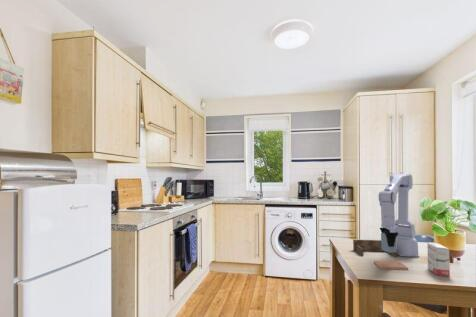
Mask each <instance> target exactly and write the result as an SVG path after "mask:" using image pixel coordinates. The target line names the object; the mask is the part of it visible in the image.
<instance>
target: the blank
mask: <svg viewBox="0 0 476 317" xmlns="http://www.w3.org/2000/svg"><path fill="white" fill-rule="evenodd" d="M380 240H381V249H382V250H384V251H386V252H387V253H389V254H390V253H392V252H397V247H396V239H395V243H394V247H389V246H388V243H387V238H386V235H385V233H382V232H380ZM386 252H385V253H386Z"/></svg>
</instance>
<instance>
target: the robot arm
mask: <svg viewBox="0 0 476 317" xmlns="http://www.w3.org/2000/svg"><path fill="white" fill-rule="evenodd" d="M413 184H414V183H413V175H412V174H411V173H410V172H409V173H390V175H389V183H388V184H387V185H386V186H385V188H384V189H383V190H382V191H380V192H379V193H378V202H379V207H380V217H381V218H380V220H381V221H380V222H381V224H380V227H379V230H380V233H385V235H386V238H387V243H388V246H389V247H394V243H395V239H396V248H397V256H399V257H417V258H418V257H420V255H419V244H418V243H419V242H418V240H417V239H416V238H415V237H416V229H415V228H416V227H415V224H414V223H413V222H412V221H410V220H409V191H410V190H412V189H413ZM397 195H398V196H397ZM397 198H398V199H397ZM397 200H398V201H397ZM396 202H397V204H398V205H397V208H398V210H397V212H398V214H397V216H398V217H397V219H396V215H395V214H396V211H395V209H396V208H395V204H396Z"/></svg>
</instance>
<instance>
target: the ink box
mask: <svg viewBox="0 0 476 317" xmlns="http://www.w3.org/2000/svg"><path fill="white" fill-rule="evenodd" d="M427 269H428V270H429V271H431V272H432V273H434V274H435V275H437V276H444V277H445V276H446V277H450V274H451V272H450V248H448V247H446V246H444V245H442V244H440V243H436V242H428V243H427Z"/></svg>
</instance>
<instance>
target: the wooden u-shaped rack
mask: <svg viewBox="0 0 476 317" xmlns="http://www.w3.org/2000/svg"><path fill="white" fill-rule="evenodd" d="M352 244H353V246H352V247H353V248H352V250H353V251H356V253H358V254H359V255H360V256H362V257H363V256H364V252H385V253H386V251H384V250H382V249H381V239H379V240H378V239H352ZM389 254H390V255H392V256H393V257H394V258H398V254H397V252H392V253H389Z"/></svg>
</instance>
